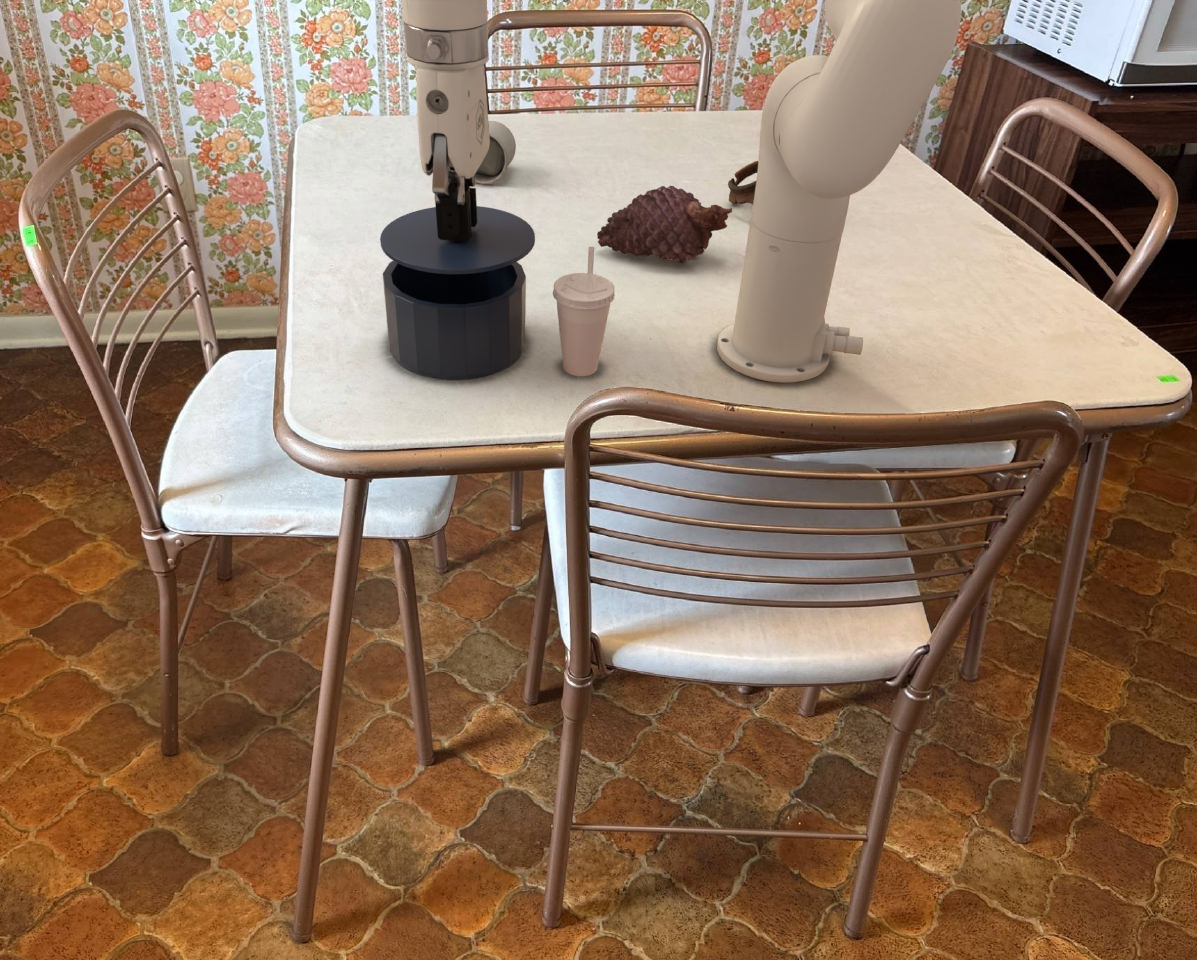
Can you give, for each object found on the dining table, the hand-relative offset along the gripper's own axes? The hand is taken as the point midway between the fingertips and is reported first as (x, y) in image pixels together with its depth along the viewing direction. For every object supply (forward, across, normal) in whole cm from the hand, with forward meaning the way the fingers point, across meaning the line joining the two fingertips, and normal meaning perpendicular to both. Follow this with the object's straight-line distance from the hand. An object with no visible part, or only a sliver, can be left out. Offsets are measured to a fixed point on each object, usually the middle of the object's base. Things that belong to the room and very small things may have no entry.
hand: (457, 230), depth 101 cm
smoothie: (+14, -2, -13) cm, 19 cm away
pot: (+13, 0, +1) cm, 13 cm away
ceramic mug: (+14, +50, +9) cm, 52 cm away
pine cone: (+14, +28, -20) cm, 37 cm away
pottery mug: (+14, +47, -34) cm, 60 cm away
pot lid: (+1, 0, 0) cm, 1 cm away
